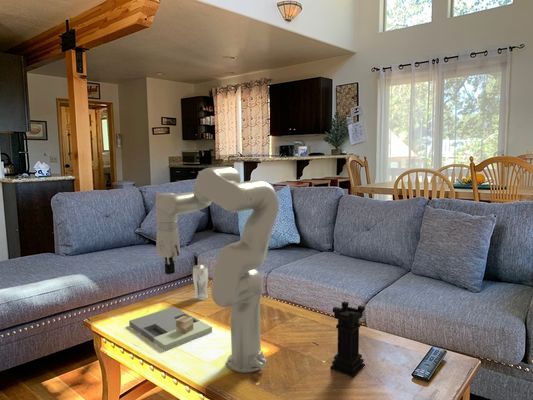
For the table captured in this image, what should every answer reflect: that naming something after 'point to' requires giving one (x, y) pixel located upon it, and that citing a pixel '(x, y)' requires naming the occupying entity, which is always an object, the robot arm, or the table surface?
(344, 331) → the chess piece
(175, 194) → the robot arm
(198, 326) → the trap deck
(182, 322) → the maple cube
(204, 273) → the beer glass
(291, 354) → the table surface
